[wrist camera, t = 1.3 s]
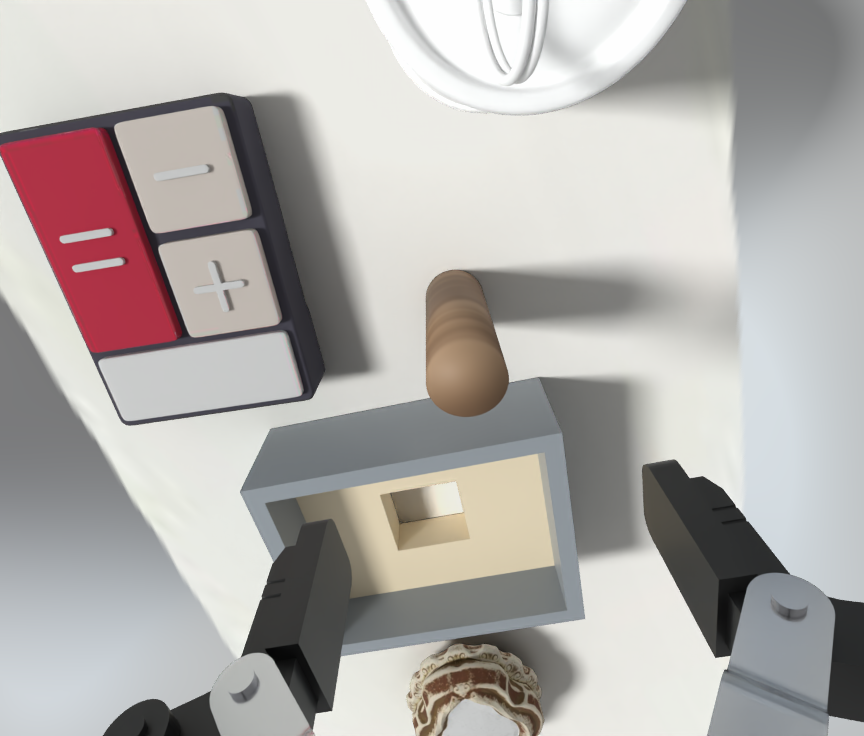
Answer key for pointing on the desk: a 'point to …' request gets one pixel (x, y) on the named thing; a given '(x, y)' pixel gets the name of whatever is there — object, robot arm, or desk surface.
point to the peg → (462, 347)
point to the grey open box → (437, 537)
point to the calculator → (171, 255)
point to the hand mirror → (475, 694)
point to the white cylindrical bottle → (520, 48)
